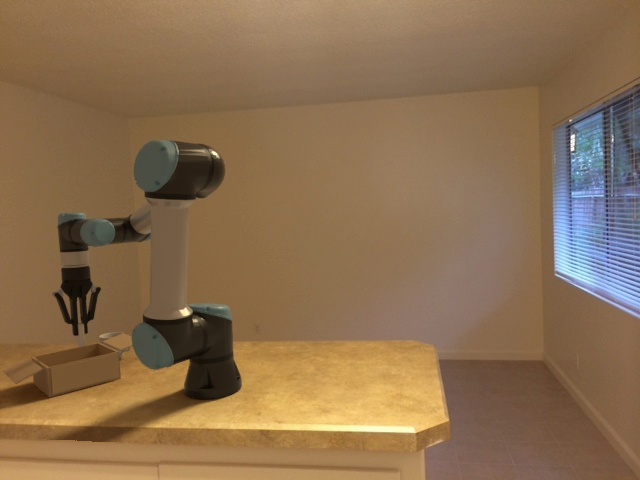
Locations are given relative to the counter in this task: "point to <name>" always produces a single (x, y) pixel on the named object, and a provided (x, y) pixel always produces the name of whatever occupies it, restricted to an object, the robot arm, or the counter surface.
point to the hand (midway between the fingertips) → (81, 345)
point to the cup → (111, 335)
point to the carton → (76, 368)
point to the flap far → (120, 342)
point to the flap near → (22, 370)
